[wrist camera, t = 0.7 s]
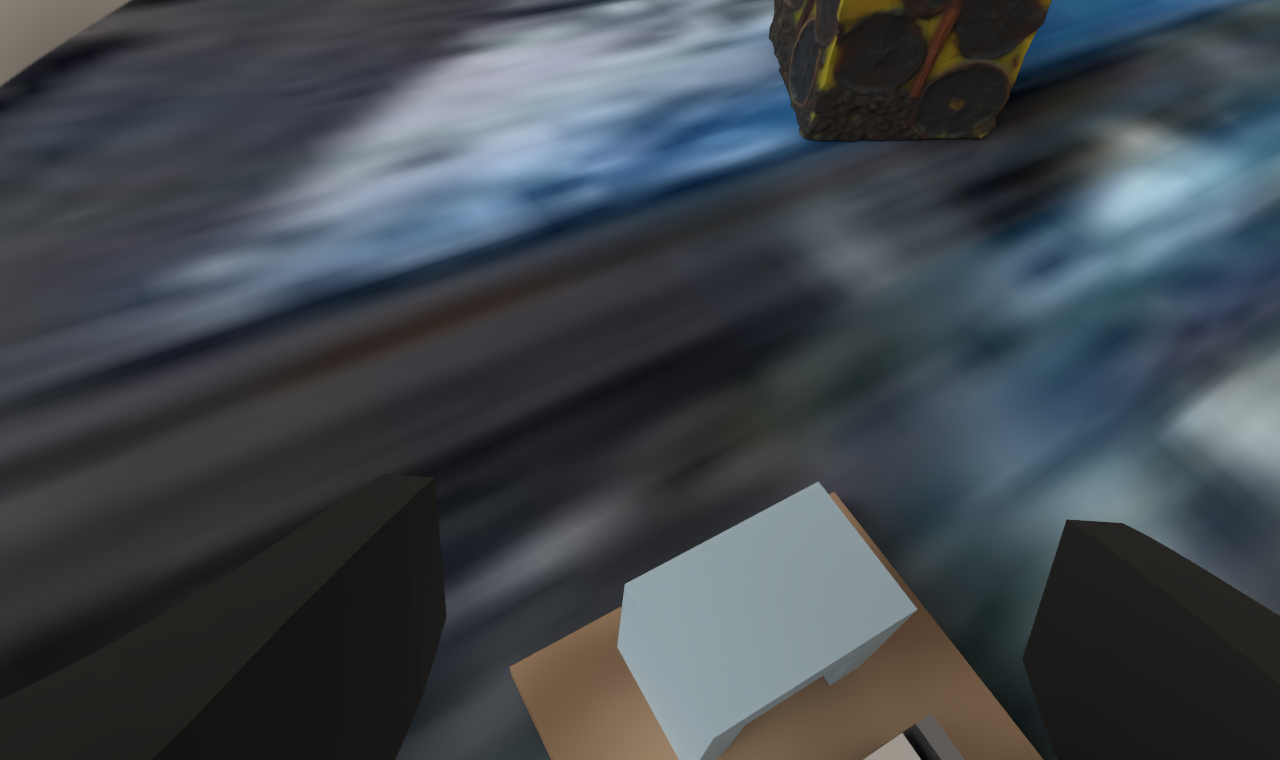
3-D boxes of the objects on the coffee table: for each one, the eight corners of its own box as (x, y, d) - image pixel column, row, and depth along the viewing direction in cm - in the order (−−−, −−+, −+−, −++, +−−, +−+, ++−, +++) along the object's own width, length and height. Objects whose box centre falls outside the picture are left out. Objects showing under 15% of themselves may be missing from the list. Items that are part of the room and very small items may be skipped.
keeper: (859, 667, 23) (917, 609, 19) (688, 776, 21) (714, 738, 17) (780, 555, 25) (818, 481, 21) (617, 646, 23) (624, 584, 19)
